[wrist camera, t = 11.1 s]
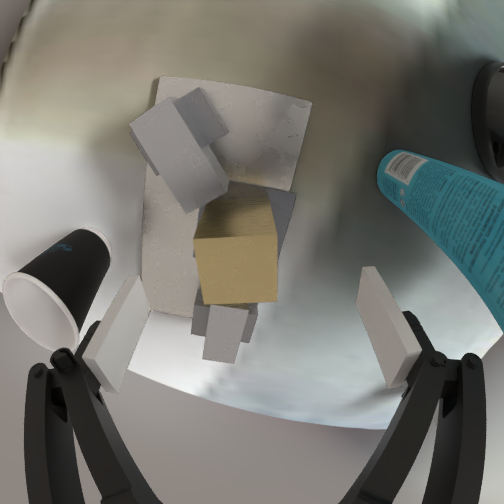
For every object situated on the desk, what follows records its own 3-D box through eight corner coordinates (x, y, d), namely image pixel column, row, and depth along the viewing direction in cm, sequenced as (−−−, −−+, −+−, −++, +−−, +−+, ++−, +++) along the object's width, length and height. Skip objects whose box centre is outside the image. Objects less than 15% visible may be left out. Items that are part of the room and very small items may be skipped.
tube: (404, 215, 24) (536, 360, 7) (364, 203, 23) (505, 371, 7) (428, 146, 21) (601, 241, 4) (388, 127, 20) (591, 214, 3)
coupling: (207, 200, 22) (192, 239, 16) (268, 197, 22) (277, 234, 16) (213, 253, 25) (204, 304, 19) (269, 251, 25) (277, 301, 19)
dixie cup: (82, 196, 22) (10, 253, 13) (139, 249, 25) (92, 329, 16) (53, 246, 25) (-3, 308, 15) (103, 291, 28) (62, 365, 18)
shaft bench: (152, 76, 18) (121, 68, 12) (318, 104, 19) (342, 104, 14) (136, 302, 29) (119, 341, 23) (255, 324, 30) (257, 366, 25)
